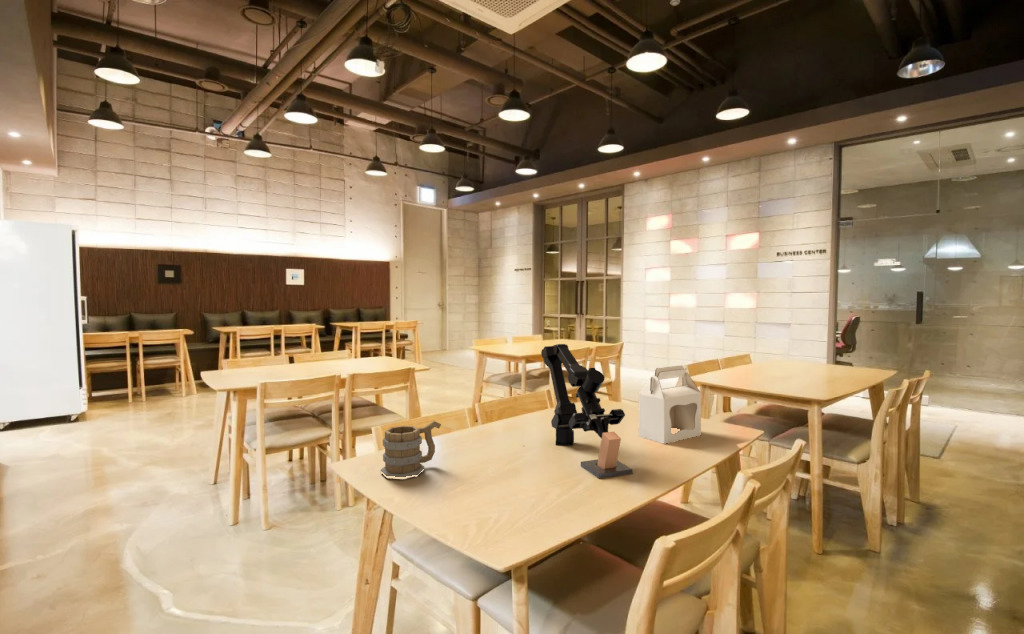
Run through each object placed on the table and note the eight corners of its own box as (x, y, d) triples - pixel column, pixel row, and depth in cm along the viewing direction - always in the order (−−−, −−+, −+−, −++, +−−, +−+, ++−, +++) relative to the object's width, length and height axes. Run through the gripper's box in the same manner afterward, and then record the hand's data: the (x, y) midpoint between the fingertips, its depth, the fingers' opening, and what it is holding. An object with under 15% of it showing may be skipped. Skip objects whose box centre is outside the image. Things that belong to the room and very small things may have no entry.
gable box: (664, 444, 181) (664, 371, 180) (637, 436, 192) (637, 367, 191) (701, 435, 192) (701, 366, 191) (674, 428, 204) (674, 363, 203)
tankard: (390, 483, 144) (389, 434, 144) (377, 471, 155) (376, 425, 154) (450, 470, 155) (449, 424, 155) (434, 459, 166) (433, 416, 165)
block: (597, 465, 155) (602, 432, 152) (608, 463, 156) (614, 431, 153) (603, 472, 151) (609, 439, 148) (615, 471, 153) (621, 438, 149)
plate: (580, 466, 158) (580, 461, 158) (612, 461, 162) (612, 457, 162) (599, 478, 146) (599, 473, 146) (632, 473, 150) (632, 469, 150)
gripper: (604, 411, 172) (621, 450, 162) (557, 416, 166) (572, 457, 156) (616, 393, 165) (635, 433, 154) (567, 397, 158) (583, 439, 148)
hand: (606, 441), depth 153 cm, fingers closed
